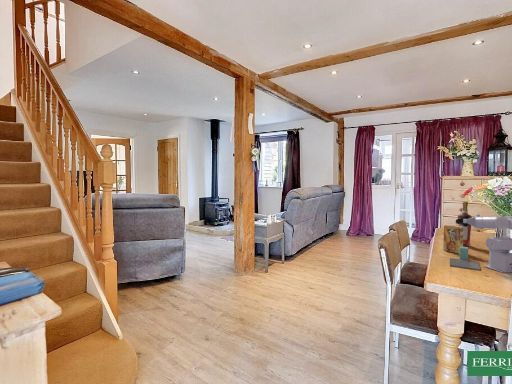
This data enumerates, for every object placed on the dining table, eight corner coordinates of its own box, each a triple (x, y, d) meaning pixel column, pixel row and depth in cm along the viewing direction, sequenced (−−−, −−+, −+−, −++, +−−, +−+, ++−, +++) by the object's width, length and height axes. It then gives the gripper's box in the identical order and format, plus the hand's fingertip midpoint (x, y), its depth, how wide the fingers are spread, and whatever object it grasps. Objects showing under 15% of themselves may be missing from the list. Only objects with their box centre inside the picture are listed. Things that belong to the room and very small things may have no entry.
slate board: (480, 270, 135) (480, 269, 135) (449, 266, 142) (449, 264, 142) (477, 262, 147) (477, 261, 147) (449, 258, 154) (449, 257, 153)
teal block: (467, 260, 150) (468, 248, 150) (459, 259, 152) (460, 247, 152) (467, 259, 153) (467, 247, 152) (459, 258, 155) (459, 246, 154)
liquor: (454, 245, 182) (455, 201, 180) (461, 243, 185) (462, 201, 183) (466, 247, 175) (468, 202, 174) (473, 246, 178) (475, 202, 177)
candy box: (463, 252, 165) (463, 226, 164) (459, 253, 163) (460, 227, 162) (446, 249, 172) (446, 224, 171) (442, 250, 170) (443, 225, 169)
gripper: (498, 215, 144) (473, 216, 157) (474, 212, 141) (451, 213, 155) (498, 229, 143) (473, 229, 156) (474, 227, 141) (450, 226, 154)
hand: (462, 222), depth 156 cm, fingers open, 7 cm apart
